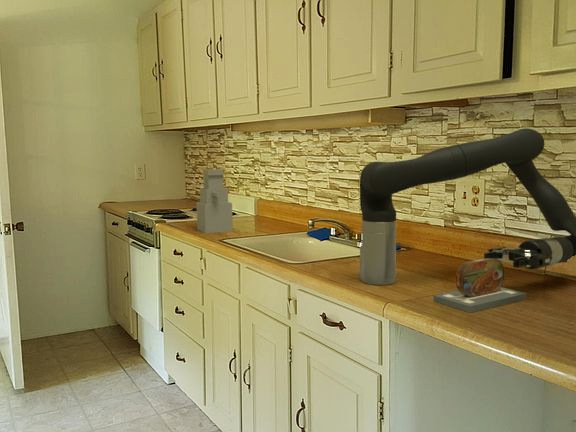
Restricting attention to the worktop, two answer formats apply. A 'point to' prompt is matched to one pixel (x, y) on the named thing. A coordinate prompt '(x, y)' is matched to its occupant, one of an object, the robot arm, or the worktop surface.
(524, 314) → the worktop surface
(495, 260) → the tin
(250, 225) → the worktop surface
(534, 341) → the worktop surface
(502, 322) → the worktop surface
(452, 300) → the letter board
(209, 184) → the stacked tiered boxes
